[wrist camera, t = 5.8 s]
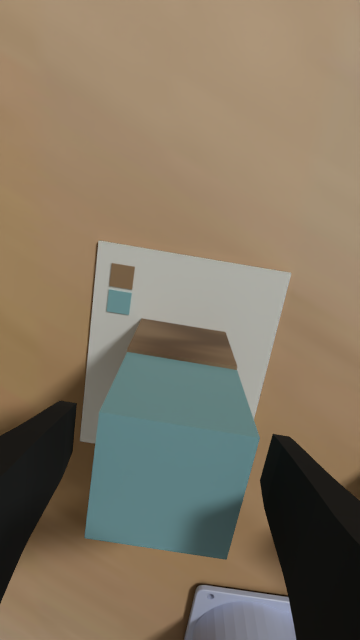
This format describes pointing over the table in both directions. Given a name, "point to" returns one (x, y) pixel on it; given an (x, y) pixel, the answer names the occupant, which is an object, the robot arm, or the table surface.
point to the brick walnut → (182, 343)
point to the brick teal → (171, 457)
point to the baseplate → (178, 313)
